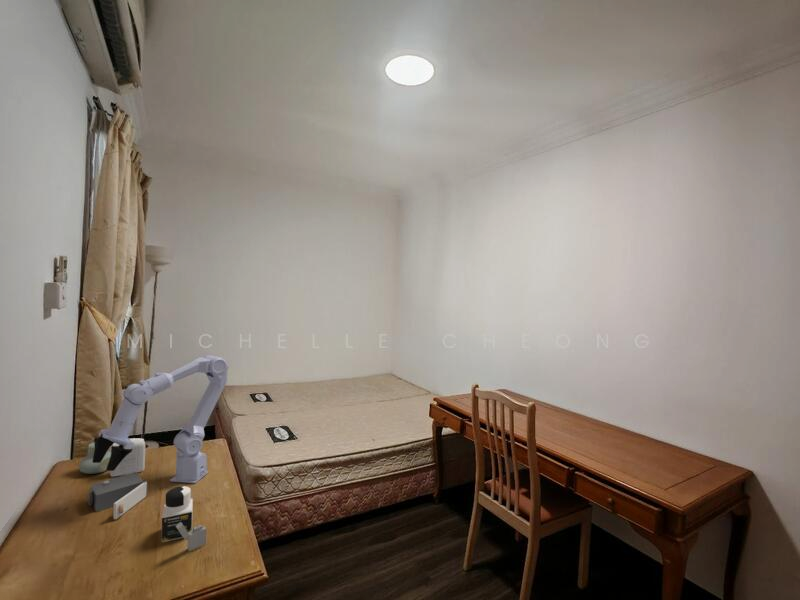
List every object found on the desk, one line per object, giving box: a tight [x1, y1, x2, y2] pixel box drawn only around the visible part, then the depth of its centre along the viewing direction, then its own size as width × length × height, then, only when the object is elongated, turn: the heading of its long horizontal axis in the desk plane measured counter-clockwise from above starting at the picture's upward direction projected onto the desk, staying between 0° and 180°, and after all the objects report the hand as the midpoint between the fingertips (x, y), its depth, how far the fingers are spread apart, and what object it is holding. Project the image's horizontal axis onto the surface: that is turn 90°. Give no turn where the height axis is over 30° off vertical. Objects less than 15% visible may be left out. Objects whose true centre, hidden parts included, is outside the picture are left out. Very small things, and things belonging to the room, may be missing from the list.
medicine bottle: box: [161, 485, 194, 543], centre depth 106 cm, size 7×7×12 cm
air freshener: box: [78, 441, 111, 475], centre depth 139 cm, size 11×8×10 cm
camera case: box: [87, 472, 144, 513], centre depth 121 cm, size 13×9×6 cm
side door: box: [113, 480, 148, 520], centre depth 117 cm, size 13×2×5 cm, turn 178°
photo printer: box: [109, 437, 146, 478], centre depth 138 cm, size 10×4×12 cm, turn 123°
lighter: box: [176, 522, 208, 552], centre depth 99 cm, size 7×2×8 cm, turn 137°
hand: (103, 466), depth 117 cm, fingers open, 7 cm apart
